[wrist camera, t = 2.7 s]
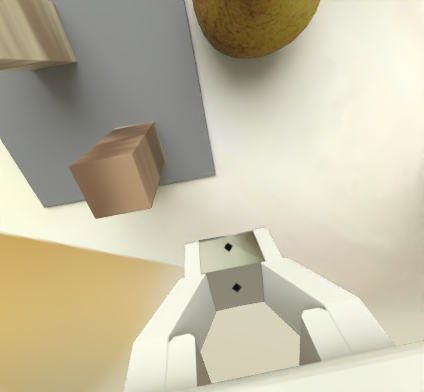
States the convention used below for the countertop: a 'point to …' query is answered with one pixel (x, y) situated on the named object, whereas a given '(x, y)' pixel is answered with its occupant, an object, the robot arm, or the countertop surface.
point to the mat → (107, 94)
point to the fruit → (252, 24)
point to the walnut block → (121, 170)
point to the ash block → (32, 36)
